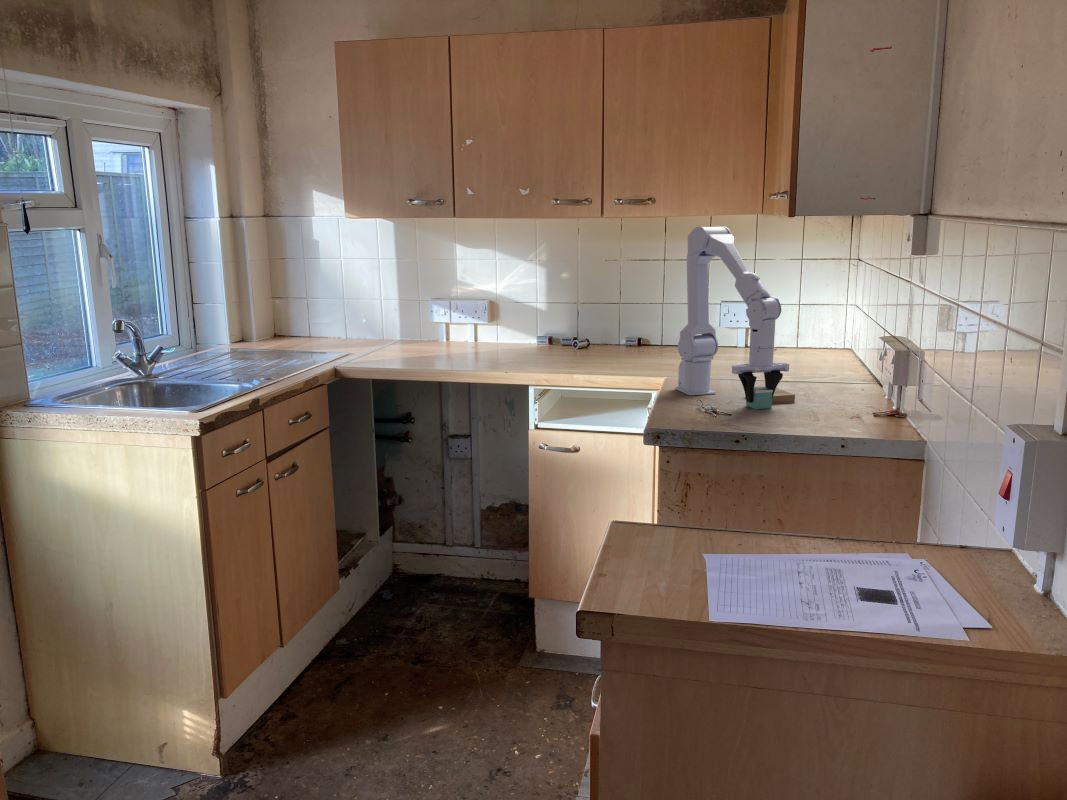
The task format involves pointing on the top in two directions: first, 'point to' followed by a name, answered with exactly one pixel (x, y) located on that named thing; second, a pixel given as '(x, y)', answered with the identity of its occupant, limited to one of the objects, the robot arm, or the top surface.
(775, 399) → the walnut block
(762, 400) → the teal tin
